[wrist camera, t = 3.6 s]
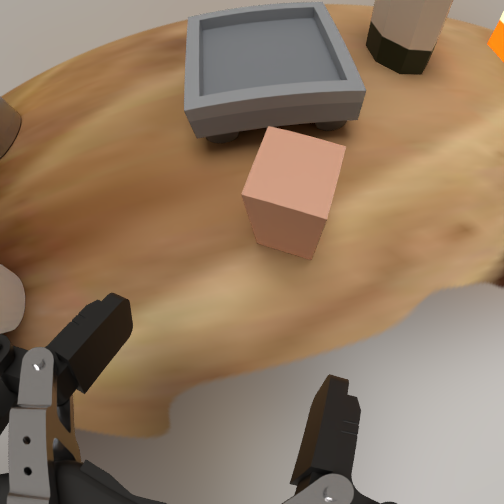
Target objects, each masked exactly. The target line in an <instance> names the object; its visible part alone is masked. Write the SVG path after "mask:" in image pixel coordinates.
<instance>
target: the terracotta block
mask: <svg viewBox="0 0 504 504" xmlns="http://www.w3.org/2000/svg"><path fill="white" fill-rule="evenodd" d="M345 149H346V146H343V145H339V144H336V143H332V142H329V141H325V140H322V139H318V138H315V137H311V136H307V135H303V134H299V133H295V132H291V131H287V130H283V129H279V128H275V127H270V126H268V128H267V130H266V133H265V135H264V138H263V140H262V143H261V145H260V148H259V151H258V153H257V156H256V158H255V161H254V163H253V166H252V168H251V171H250V173H249V176H248V179H247V181H246V184H245V186H244V189H243V192H242V194H241V195H242V198H243V201H244V204H245V207H246V210H247V213H248V216H249V219H250V222H251V225H252V229H253V232H254V235H255V238H256V241H257V243H258V244H261V245H264V246H267V247H270V248H274V249H277V250H280V251H283V252H287V253H290V254H293V255H296V256H299V257H303V258H306V259H309V260H311V259H312V257H313V254H314V252H315V249H316V247H317V244H318V242H319V239H320V237H321V234H322V231H323V229H324V226H325V223H326V221H327V218H328V214H329V211H330V207H331V203H332V200H333V196H334V192H335V188H336V185H337V181H338V177H339V173H340V169H341V165H342V161H343V157H344V153H345Z"/></svg>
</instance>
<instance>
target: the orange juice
mask: <svg viewBox="0 0 504 504" xmlns="http://www.w3.org/2000/svg"><path fill="white" fill-rule="evenodd" d="M487 44H488V45H489V46H490V47H491V48H492V49H493V51H494V52H495V53H496V54H497V55H498V56H499V57H500V59H501V60H502V61H503V62H504V12H503V14H502V16H501V18H500V21H499V23H498V24H497V26H496V28H495V30H494V32H493V34H492V36H491V38H490V40H489V41H488V43H487Z"/></svg>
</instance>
